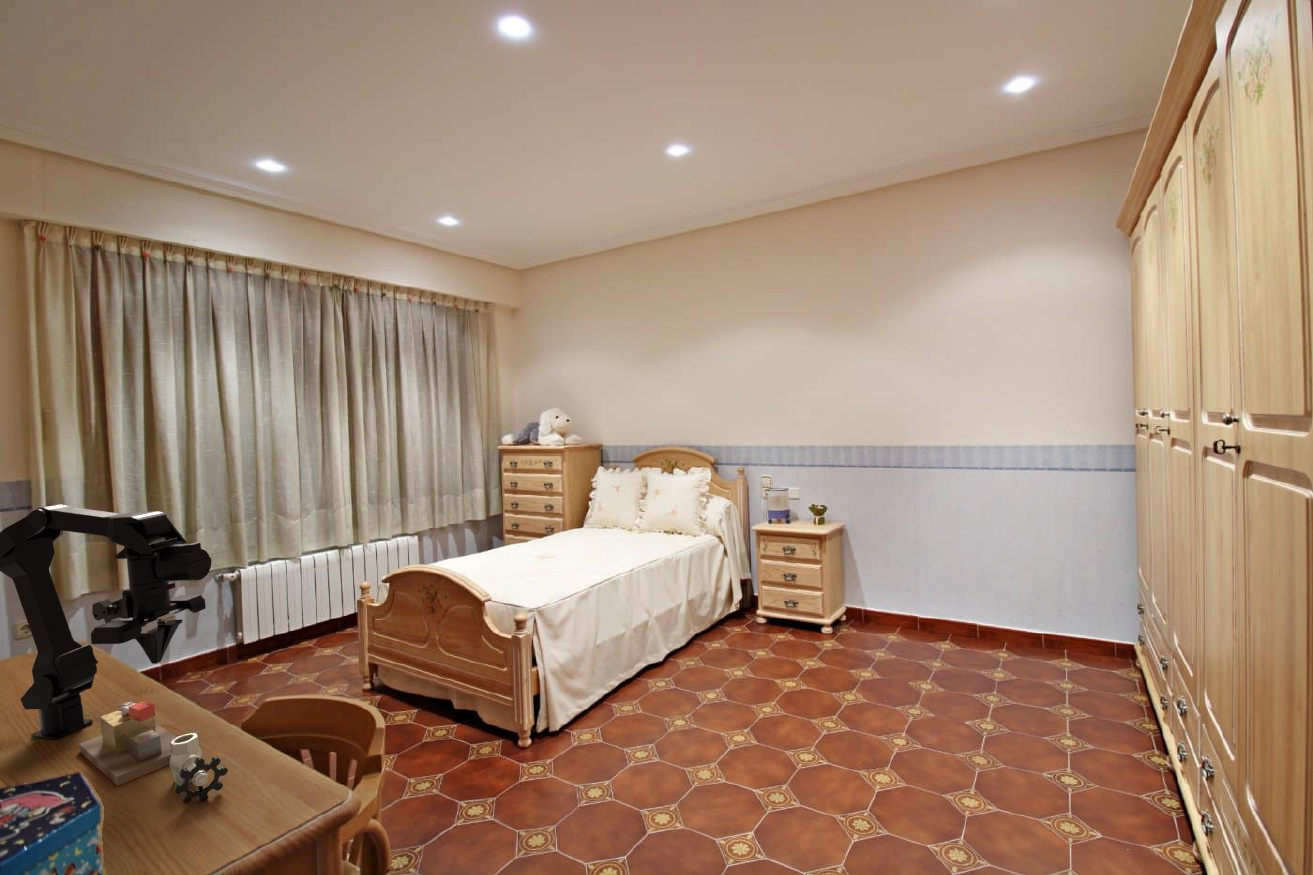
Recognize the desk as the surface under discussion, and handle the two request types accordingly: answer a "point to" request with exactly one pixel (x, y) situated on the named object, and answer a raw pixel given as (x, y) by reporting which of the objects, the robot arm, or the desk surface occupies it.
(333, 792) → the desk surface
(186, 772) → the valve
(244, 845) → the desk surface
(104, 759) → the valve plank
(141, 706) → the lever
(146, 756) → the beige stepped block
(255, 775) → the desk surface
